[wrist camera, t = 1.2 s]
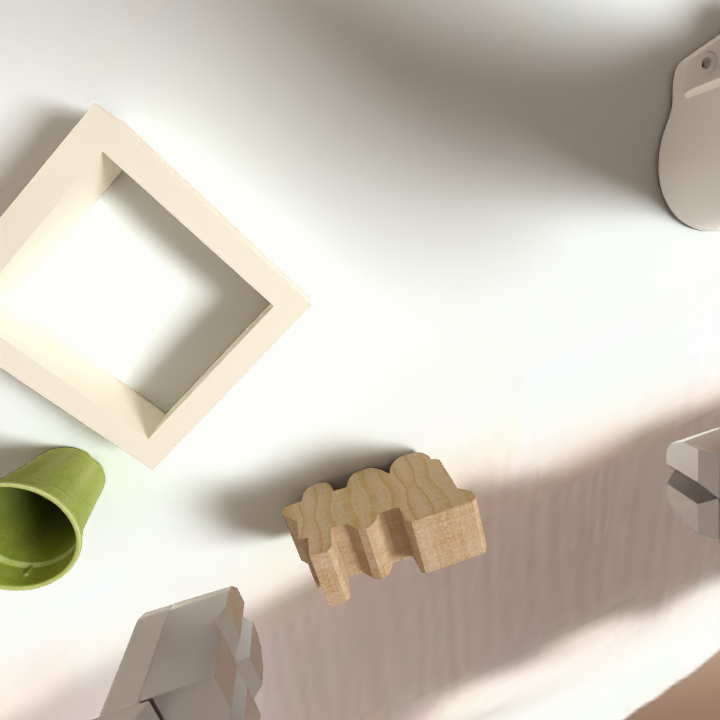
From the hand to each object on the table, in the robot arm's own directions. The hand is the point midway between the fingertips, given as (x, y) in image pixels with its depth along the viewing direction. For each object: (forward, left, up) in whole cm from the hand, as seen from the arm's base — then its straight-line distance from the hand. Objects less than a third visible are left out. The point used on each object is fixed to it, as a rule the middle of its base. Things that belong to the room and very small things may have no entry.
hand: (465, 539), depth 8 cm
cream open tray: (+11, -11, -32) cm, 36 cm away
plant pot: (+29, -6, -33) cm, 44 cm away
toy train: (+12, +17, -33) cm, 39 cm away
